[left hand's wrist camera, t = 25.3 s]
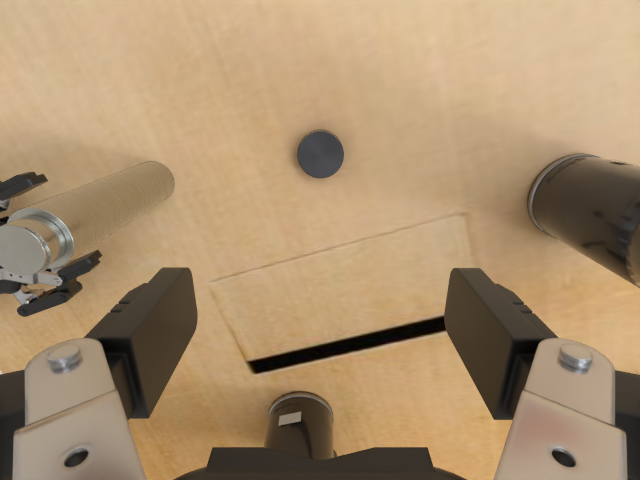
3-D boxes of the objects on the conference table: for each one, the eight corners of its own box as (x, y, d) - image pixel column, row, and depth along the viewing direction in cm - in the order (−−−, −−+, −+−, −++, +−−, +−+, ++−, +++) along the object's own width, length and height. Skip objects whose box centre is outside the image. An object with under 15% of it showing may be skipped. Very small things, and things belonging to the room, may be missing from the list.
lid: (339, 126, 38) (340, 128, 36) (344, 170, 40) (346, 174, 38) (295, 132, 39) (294, 134, 37) (302, 176, 40) (301, 181, 38)
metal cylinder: (162, 207, 42) (37, 294, 23) (128, 184, 41) (-31, 257, 22) (181, 177, 40) (65, 244, 22) (146, 153, 39) (-6, 202, 21)
